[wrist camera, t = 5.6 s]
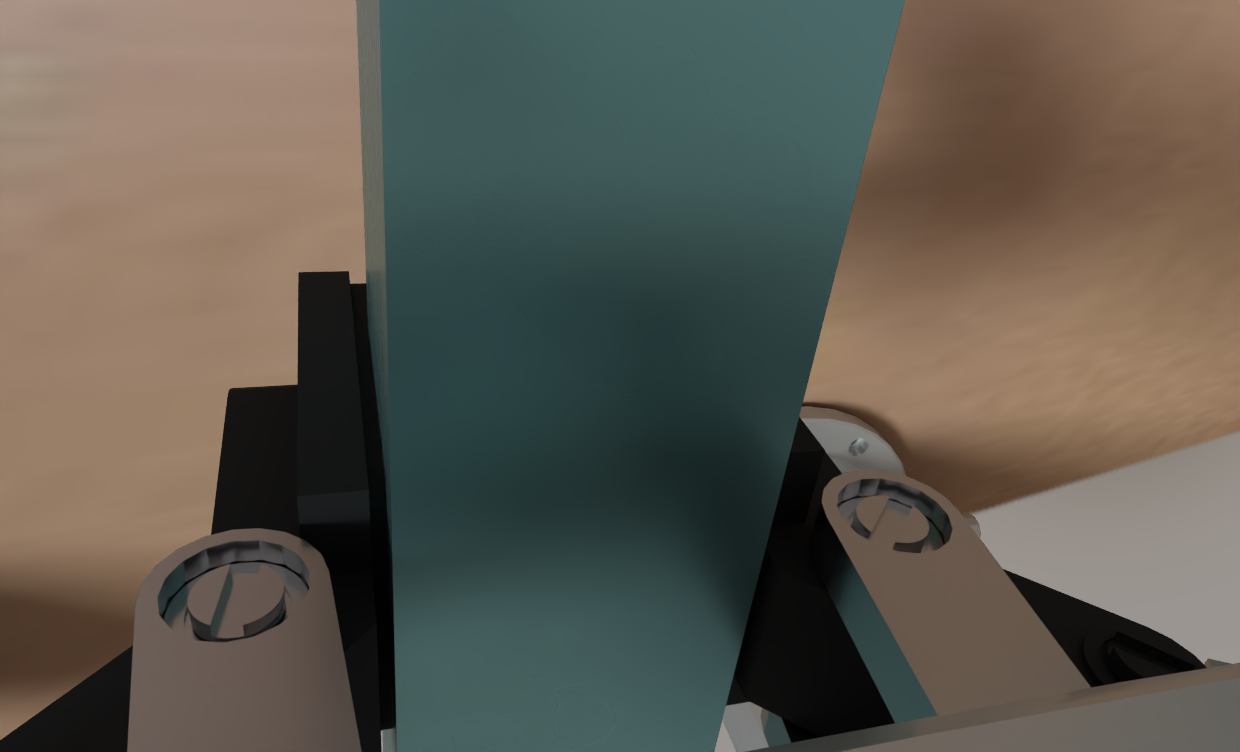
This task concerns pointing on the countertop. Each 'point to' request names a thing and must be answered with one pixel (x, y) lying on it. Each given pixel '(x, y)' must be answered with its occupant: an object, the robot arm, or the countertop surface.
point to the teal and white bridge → (595, 342)
